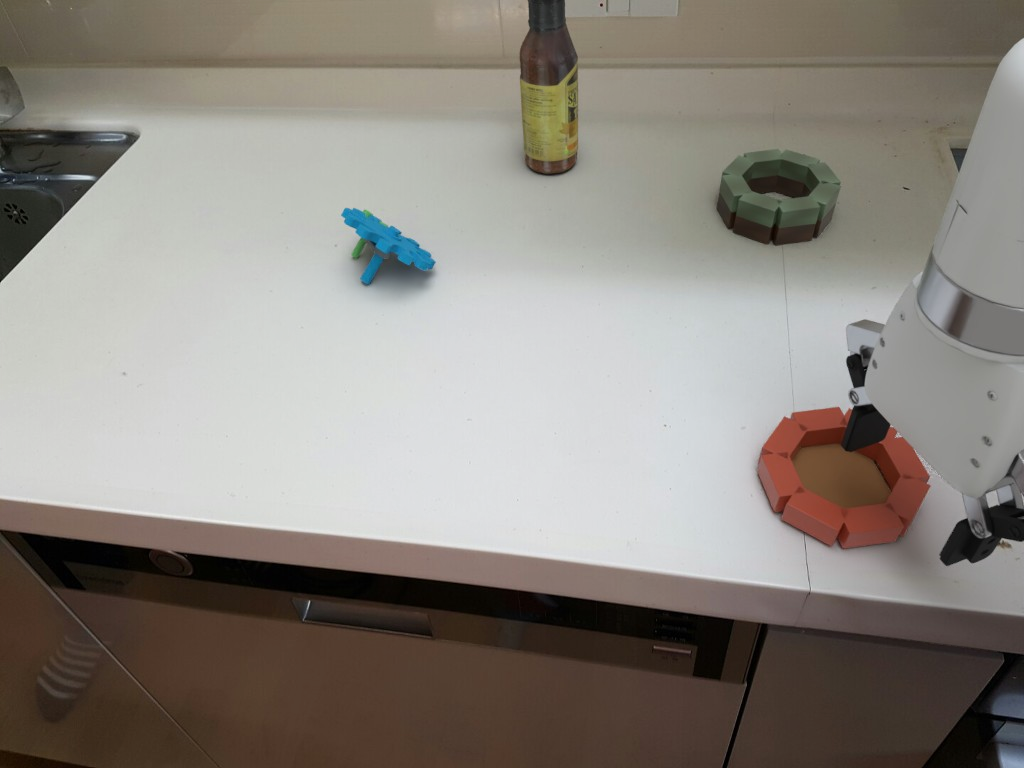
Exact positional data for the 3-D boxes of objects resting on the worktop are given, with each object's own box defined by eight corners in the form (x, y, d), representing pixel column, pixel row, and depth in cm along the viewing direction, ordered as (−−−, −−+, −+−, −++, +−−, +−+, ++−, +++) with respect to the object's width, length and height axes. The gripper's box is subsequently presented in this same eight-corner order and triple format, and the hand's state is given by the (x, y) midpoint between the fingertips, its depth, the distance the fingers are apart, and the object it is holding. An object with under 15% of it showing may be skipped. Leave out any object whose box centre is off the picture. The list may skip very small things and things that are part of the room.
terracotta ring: (877, 417, 62) (884, 400, 61) (945, 535, 55) (956, 519, 53) (741, 434, 62) (745, 418, 60) (791, 555, 54) (797, 540, 53)
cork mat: (860, 441, 61) (861, 438, 61) (902, 515, 56) (904, 513, 56) (772, 454, 61) (773, 451, 61) (808, 530, 56) (809, 528, 56)
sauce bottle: (581, 174, 89) (583, -9, 75) (526, 179, 89) (517, -4, 75) (574, 144, 94) (574, -34, 79) (522, 149, 94) (512, -29, 79)
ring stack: (803, 177, 86) (811, 144, 83) (846, 236, 79) (856, 202, 76) (706, 189, 86) (710, 157, 83) (739, 250, 78) (746, 216, 75)
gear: (454, 270, 76) (368, 229, 69) (422, 321, 77) (335, 285, 71) (412, 226, 84) (332, 185, 77) (385, 273, 85) (303, 237, 79)
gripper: (1225, 382, 34) (1062, 585, 46) (944, 189, 46) (873, 392, 58) (1085, 434, 33) (955, 630, 45) (832, 222, 45) (784, 422, 57)
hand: (909, 495), depth 51 cm, fingers open, 9 cm apart
